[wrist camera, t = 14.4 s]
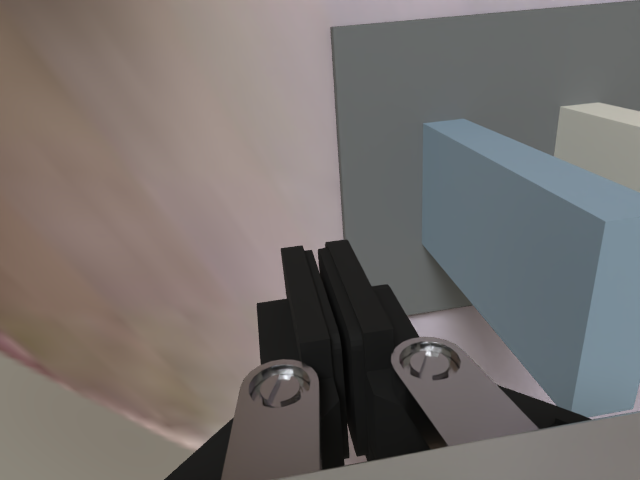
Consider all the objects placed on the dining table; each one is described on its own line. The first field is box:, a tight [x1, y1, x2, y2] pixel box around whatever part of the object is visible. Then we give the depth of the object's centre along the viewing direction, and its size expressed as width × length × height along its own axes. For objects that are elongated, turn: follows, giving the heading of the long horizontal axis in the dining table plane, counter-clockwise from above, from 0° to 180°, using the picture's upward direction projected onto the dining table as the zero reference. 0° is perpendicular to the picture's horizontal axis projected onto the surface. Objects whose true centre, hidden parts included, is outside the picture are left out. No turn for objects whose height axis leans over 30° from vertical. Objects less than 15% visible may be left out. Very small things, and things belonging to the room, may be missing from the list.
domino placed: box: [422, 119, 640, 417], centre depth 15 cm, size 2×5×10 cm, turn 4°
